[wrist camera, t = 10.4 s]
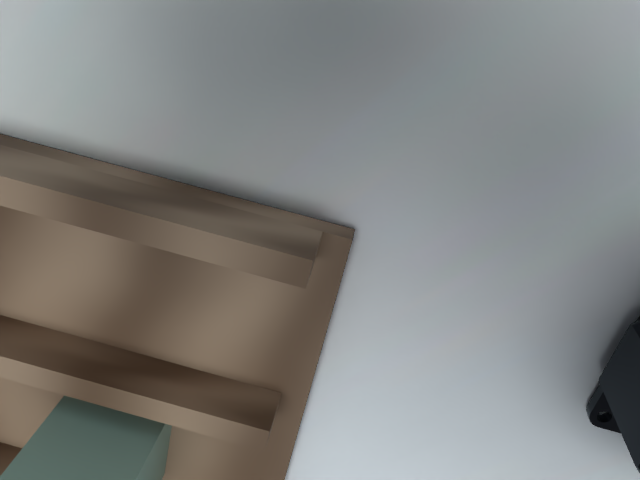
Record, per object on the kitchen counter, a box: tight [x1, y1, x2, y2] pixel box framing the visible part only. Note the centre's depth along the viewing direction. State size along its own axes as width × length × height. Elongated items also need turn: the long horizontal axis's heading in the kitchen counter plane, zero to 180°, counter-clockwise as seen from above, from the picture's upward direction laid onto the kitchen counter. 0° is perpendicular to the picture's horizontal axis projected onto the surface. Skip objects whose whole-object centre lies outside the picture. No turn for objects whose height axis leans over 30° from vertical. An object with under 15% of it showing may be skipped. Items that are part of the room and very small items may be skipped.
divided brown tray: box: [0, 134, 355, 480], centre depth 22 cm, size 14×15×3 cm
